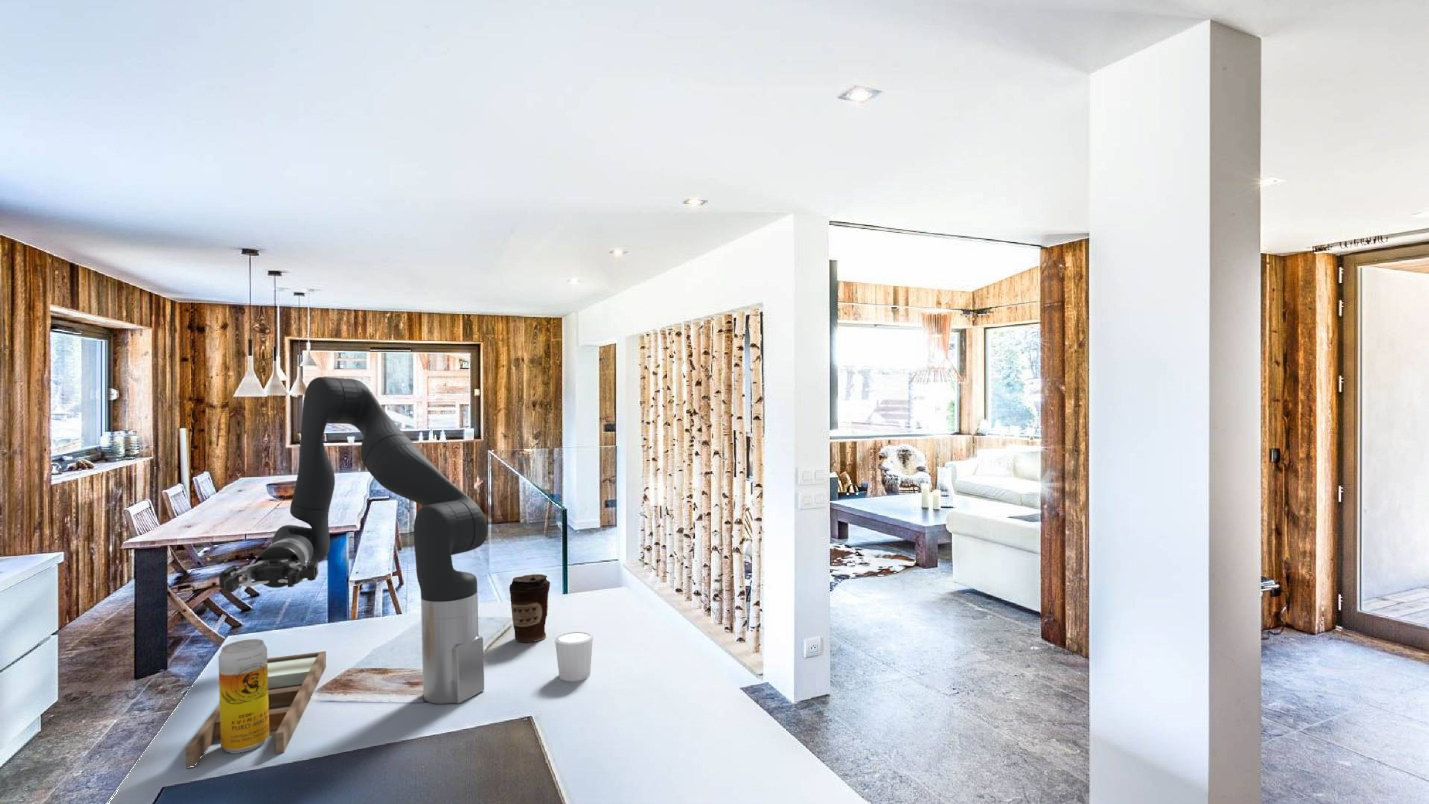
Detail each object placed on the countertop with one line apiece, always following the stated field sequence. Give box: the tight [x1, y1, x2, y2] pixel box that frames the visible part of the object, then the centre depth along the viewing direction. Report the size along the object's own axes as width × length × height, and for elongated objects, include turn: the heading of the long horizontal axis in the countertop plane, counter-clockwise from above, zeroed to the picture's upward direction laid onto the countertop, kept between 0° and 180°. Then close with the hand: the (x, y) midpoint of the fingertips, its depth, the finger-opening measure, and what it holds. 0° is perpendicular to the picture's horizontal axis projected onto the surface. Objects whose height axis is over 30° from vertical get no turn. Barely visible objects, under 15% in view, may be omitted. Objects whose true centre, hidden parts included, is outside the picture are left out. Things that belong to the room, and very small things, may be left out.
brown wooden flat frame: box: [185, 650, 327, 767], centre depth 120 cm, size 36×12×3 cm, turn 20°
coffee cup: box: [509, 573, 551, 643], centre depth 153 cm, size 9×8×13 cm
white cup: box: [554, 631, 594, 682], centre depth 132 cm, size 7×7×7 cm
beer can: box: [217, 638, 270, 754], centre depth 108 cm, size 6×6×15 cm
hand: (260, 583), depth 118 cm, fingers open, 8 cm apart
